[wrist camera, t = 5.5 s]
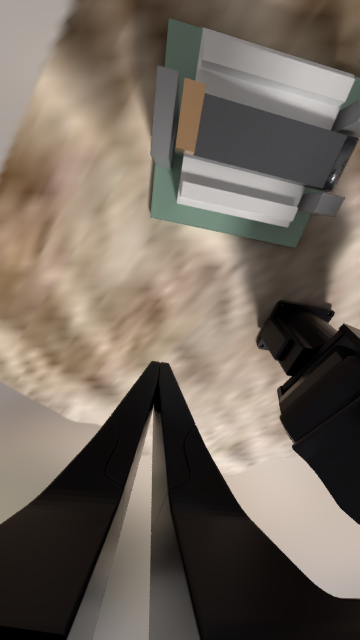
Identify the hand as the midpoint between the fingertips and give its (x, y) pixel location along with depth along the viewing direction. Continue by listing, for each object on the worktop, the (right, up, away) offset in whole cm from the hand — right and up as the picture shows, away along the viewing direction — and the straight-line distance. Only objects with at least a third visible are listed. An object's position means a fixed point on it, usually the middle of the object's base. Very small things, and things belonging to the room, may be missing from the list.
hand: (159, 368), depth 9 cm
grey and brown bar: (+6, +12, +2) cm, 14 cm away
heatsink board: (+6, +14, +5) cm, 16 cm away
